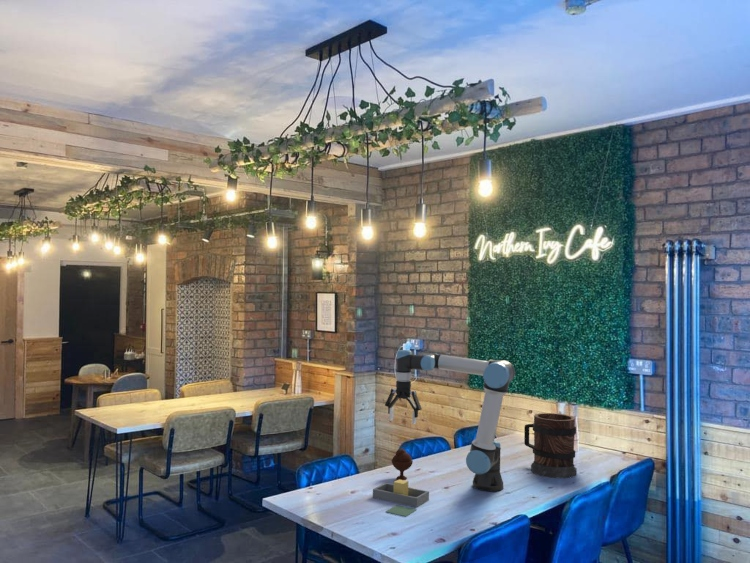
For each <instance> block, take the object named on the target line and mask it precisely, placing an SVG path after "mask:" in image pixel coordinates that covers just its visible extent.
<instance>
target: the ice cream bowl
mask: <svg viewBox="0 0 750 563" xmlns="http://www.w3.org/2000/svg"><path fill="white" fill-rule="evenodd" d="M413 463H414V462H413V459H412V456H411V454H410V453H408V452H407V451H406V450H405V448H399V449H396V451H395V455H393V457H392V459H391V464H392V466H393V468H395V470H397V471H399V475H398V476H397V477H396V480H399V479H400V480H405V481H407V479H408V478H407V476H405V475H404V473H405V471H407V470H409V469H410V468H411V467H412V465H413Z"/></svg>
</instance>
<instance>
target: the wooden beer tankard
mask: <svg viewBox="0 0 750 563" xmlns="http://www.w3.org/2000/svg"><path fill="white" fill-rule="evenodd" d="M523 427H524V429H523V430H524V446H526V447H528V448H530V449H532V453H533V456H534V460H533V461H532V463H531V464H530V471H531V472H532V473H533V474H536V475H537V476H542V477H547V478H554V479H571V478H574V477H576V476H577V474H578V473H577V471H578V469H577V467H576V466H575V464H574V459H575V458H576V450H575V435H576V434H577V427H576V418H575V417H574V416H572V415H568V414H564V413H563V414H561V413H555V412H551V413H550V412H545V413H544V412H541V413H536V414H535V413H534V415H533V423H529V424H525V425H524V426H523ZM530 428H532V431H533V432H534V433H533V435H534V436H533V441H534V442H533V443H532V444H531V443H530ZM570 477H571V478H570Z"/></svg>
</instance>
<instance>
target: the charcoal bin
mask: <svg viewBox="0 0 750 563" xmlns="http://www.w3.org/2000/svg"><path fill="white" fill-rule="evenodd" d="M393 492H394V483H388V482H385V483H382V484H381V485H378V486H377V487H375V488H373V489H372V499H376V500H379V501H386V502H389V503H394V504H397V505H402V506H406V507H411V508H412V507H413V508H415V509H418V508H419V507H421V506H422V505H424V504H425V503H427V502H429V500H430V490H429V491H428V490H423V489H418V488H413V487H409V486H408V496H407V495H402V494H397V493H393Z"/></svg>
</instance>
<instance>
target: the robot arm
mask: <svg viewBox="0 0 750 563" xmlns="http://www.w3.org/2000/svg"><path fill="white" fill-rule="evenodd" d="M434 369H435V370H436V369H437V370H443V371H449V372H450V371H451V372H455V373H464V374H470V375H474V376H475V375H476V376H477V375H478V376H482V378H483V384H482V385H483V386H482V387H483V389H484V397H483V401H482V407H481V412H480V416H479V421H478V422H479V423H478V426H477V430H476V431H477V432H476V435H475V439H473V440H472V441H471V445H470V450H469V452H468V453H467V455H466V458H465V463H466V466H467V468H468V469H469V471H470V472H472V473H473V474H474V476H473V480H472V487H473V488H474V489H476V490H479V491H484V492H498V491H502V490H503V489H504V480H503V478H502V474H501V450H502V448H501V443H500V442H499V441H497V440H495V437H496V433H497V427H498V422H499V418H500V415H501V414H500V413H501V409H502V405H503V404H502V403H503V398H504V395H506V394H507V393H508V390H509V387H510V382H512V381H513V380H514V378H515V376H516V371H515V367H514V365H513V364H512V363H511V362H509V361H508V360H505V359H503V360H502V359H489V360H484V359H483V360H481V359H474V358H467V357H460V356H453V355H446V354H445V355H444V354H438V353H437V352H429V353H426V354H412V351H411V350H408V349H399V350H397V353H396V375H395V379H396V382H395V387H396V388H391V389H390V392H389V394H388V397H387V399H386V402H385V403H384V406H385V407H387V408H388V409H387V410H388V412H387V413H388V414H389V422H391V421H394V410H395V409H394V408H395V407H394V405H395V404H396V403H397V402H398V400H399V399H400V400H402V399H403V400H406V401H407V402H408V403H409V405H410V406H411V408H412V421H411V422H412V425H416V424H417V419H418V417H419V411H421V410H422V406H421V403H420V401H419V398H418V396H417V391H416V390H411V387H412V370H414V371H415V370H416V371H424V372H425V371H426V372H427V371H433V370H434ZM395 394H396V395H395ZM394 396H395V397H394Z"/></svg>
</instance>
